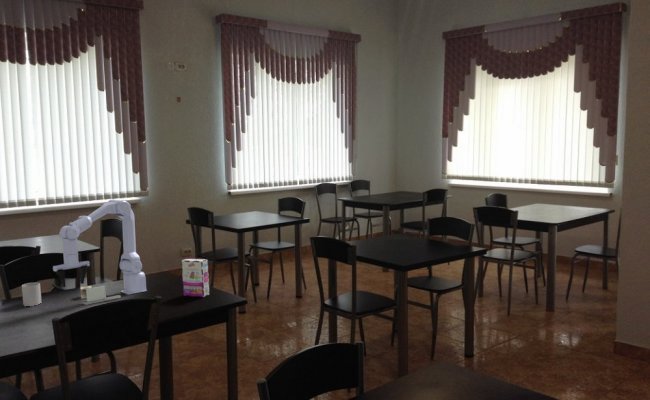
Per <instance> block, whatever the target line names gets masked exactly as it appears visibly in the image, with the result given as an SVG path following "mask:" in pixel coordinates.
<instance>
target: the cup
mask: <svg viewBox="0 0 650 400" xmlns="http://www.w3.org/2000/svg"><path fill="white" fill-rule="evenodd" d="M41 291H42V290H41V283H40V282H27V283H24V284H22V285H21V295H22V303H23V306H24V307H26V306H30V307H35V306H34V305H37V306H39V305H38V304H40V303H41V304H42V293H41ZM41 304H40V305H41Z"/></svg>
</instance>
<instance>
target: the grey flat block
mask: <svg viewBox="0 0 650 400" xmlns="http://www.w3.org/2000/svg"><path fill="white" fill-rule="evenodd" d="M106 298H107V294H106V286H105V285H100V286H95V287H91V288H89V289H86V298H85V299H86V302H91V301H96V300H101V299H106Z"/></svg>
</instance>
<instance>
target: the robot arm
mask: <svg viewBox="0 0 650 400" xmlns="http://www.w3.org/2000/svg"><path fill="white" fill-rule="evenodd" d="M108 214H111V215H114V216H117V218H119V219H121V222H122V223H121V224H122V225H121V226H122V245H123V246H122V247H123V249H122V250H123V252H122V254H121V256H120V261H119V269H120V270H121V271H122V276H123V278H122V279H123V290H120V292H121V293H123V294H125V295H132V294H138V293H142V292H148V290H147V280H146V279H147V278H146V274H145V272H144V271H142V269H143V264H142V262H141V257H140V255H139V254H138V253H137V245H136V241H137V240H136V225H135V213H134V211H133V209H132V205H131V203H129V202H128V201H127V200H123V199H122V200H120V199H110V200H109V199H108V201H105V202H104V203H103V204H102V205H101V206H100V207H98V208H97V209H95V210H94V211H92V212H91V213H90V214H88V215H80V216H77V217H78V218H77V219H76V220H74V221H73V222H72V221H70V222H69V223H68V225H63V226H62V227H61V228H60V229H59V233H58V236H59V238H60V239H61V241H62V251H63V252H62V254H63V264H62V263H61V264H58V265H53V266H52V270H53V272H55V274H56V275H57V276H58V279H59V280H60V283H61V286H62V287H63V288H65V287H66V277H65V276H66V272H65V270H70V269H71V270H72V269H77V268H78V273H79V283H80V284H82V285H83V284H84V283H85V278H86V274H87V272H88V270H89V267H90V266H91V265H90V261H89V260H85V261H84V260H83V261H79V250H78V238H79V237H80V234H82V233H83V232H84V231H87V230H88V229H90V228H91V227H92V225H93V222H96V221H97V220H98V219H101V218H103V217H104V216H105V215H108Z"/></svg>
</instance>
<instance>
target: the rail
mask: <svg viewBox="0 0 650 400" xmlns="http://www.w3.org/2000/svg"><path fill="white" fill-rule="evenodd" d="M121 298H122V295H120V294H118V295H112V296H106V299H101V300H96V301H91V302H87V301H83V302H82V305H85V306H87V305H91V304H97V303H101V302H106V301H108V302H109V301H112V300H116V299H121Z"/></svg>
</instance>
